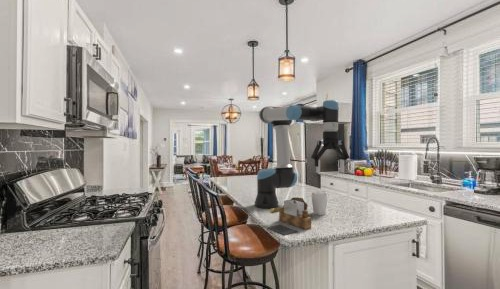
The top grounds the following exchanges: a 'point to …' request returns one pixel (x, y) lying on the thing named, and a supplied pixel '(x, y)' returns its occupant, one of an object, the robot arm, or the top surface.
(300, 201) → the rock
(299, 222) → the plane body
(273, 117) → the robot arm
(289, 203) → the grey block
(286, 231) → the mat
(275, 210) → the lever
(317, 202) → the cup
